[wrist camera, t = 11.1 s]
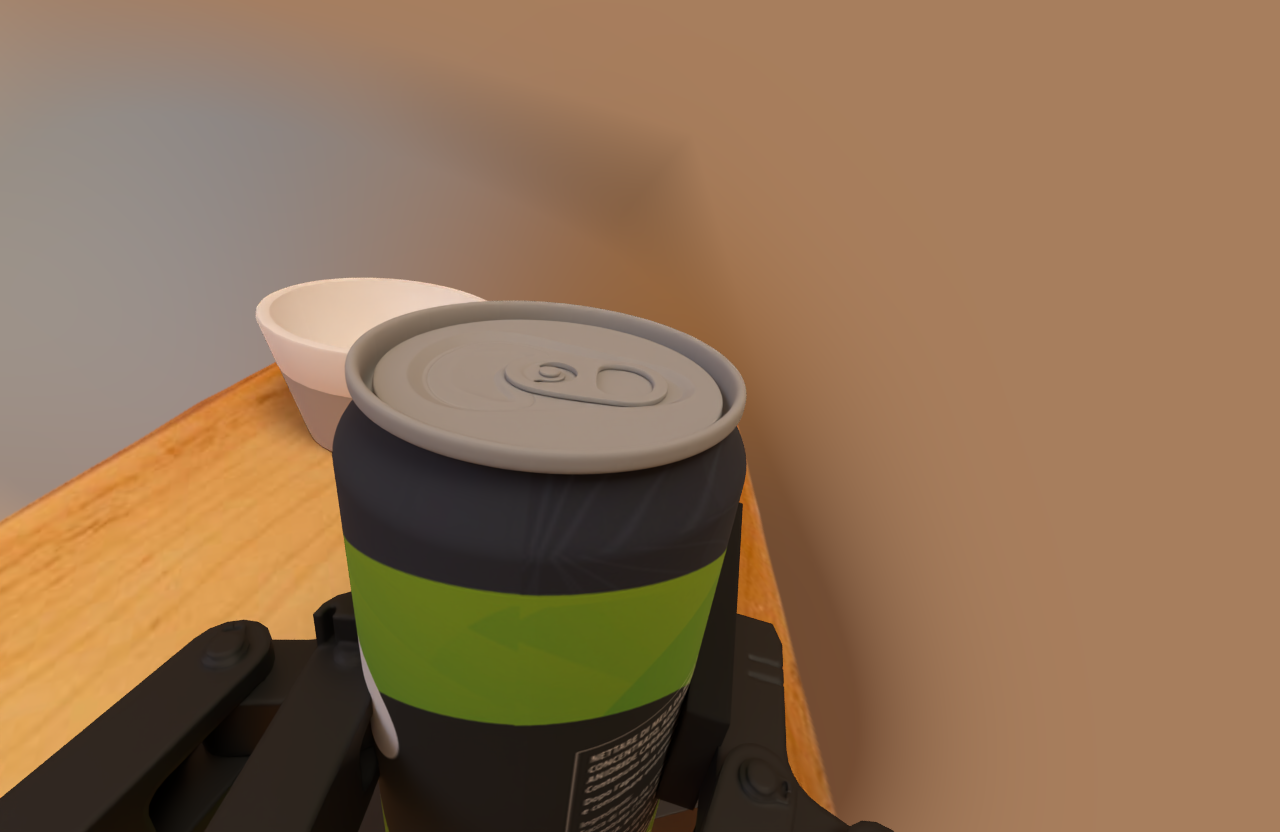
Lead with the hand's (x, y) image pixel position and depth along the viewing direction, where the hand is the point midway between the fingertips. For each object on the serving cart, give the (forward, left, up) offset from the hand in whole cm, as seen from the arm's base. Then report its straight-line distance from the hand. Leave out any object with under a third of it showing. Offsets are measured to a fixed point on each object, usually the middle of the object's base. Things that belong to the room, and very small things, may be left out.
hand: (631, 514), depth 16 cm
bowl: (+9, -36, -18) cm, 42 cm away
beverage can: (+3, +4, -9) cm, 10 cm away
